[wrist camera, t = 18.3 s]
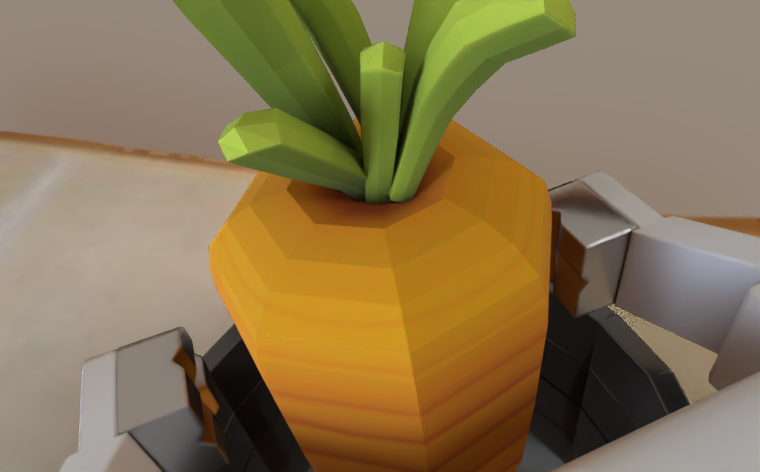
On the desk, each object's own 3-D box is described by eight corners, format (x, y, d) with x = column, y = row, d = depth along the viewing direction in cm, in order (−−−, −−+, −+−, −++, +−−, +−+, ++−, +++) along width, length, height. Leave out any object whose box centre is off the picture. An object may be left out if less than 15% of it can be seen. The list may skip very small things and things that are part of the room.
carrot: (494, 415, 17) (506, -237, 6) (557, 606, 13) (817, -222, 3) (331, 449, 16) (87, -163, 6) (348, 651, 13) (-167, -44, 3)
